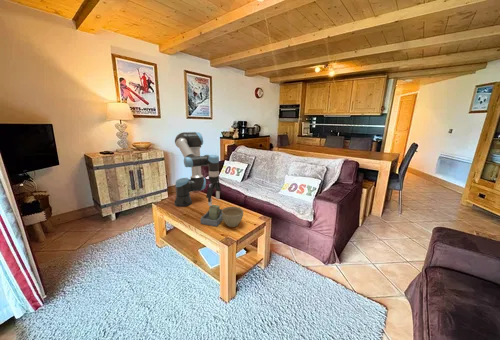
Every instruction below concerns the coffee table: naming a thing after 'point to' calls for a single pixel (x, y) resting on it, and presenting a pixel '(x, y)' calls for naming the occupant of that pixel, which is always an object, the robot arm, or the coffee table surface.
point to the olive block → (214, 212)
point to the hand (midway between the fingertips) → (214, 202)
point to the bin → (207, 221)
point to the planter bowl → (232, 216)
